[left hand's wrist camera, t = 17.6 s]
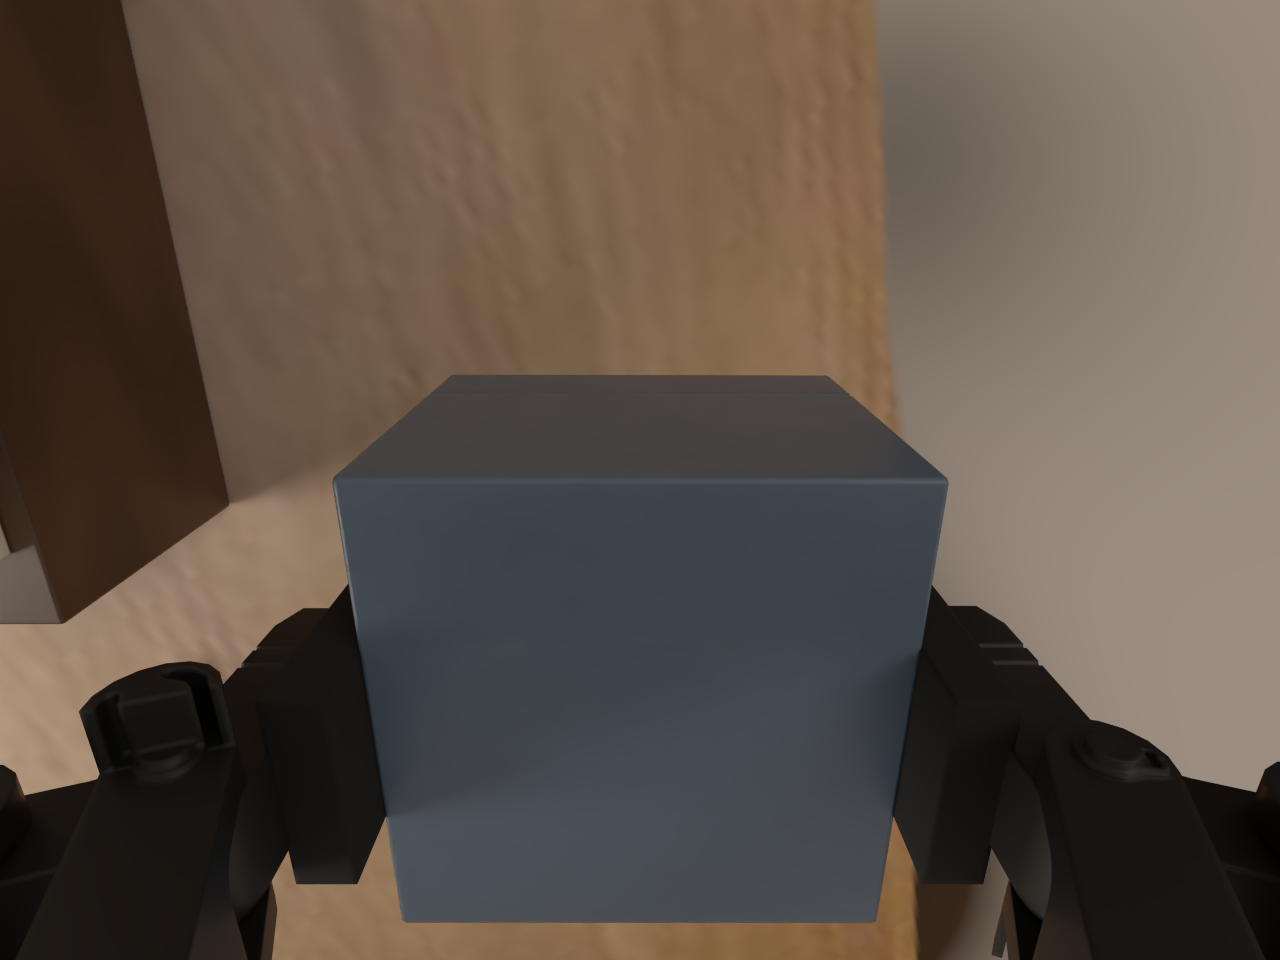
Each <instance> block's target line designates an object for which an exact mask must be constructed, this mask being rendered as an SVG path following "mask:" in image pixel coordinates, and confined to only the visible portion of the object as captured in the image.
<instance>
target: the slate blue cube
mask: <svg viewBox="0 0 1280 960" xmlns="http://www.w3.org/2000/svg"><path fill="white" fill-rule="evenodd" d="M333 489H334V495H335V502H336V508H337V514H338V521H339V527H340V533H341V539H342V546H343V552H344V558H345V564H346V571H347V577H348V583H349V589H350V596H351V602H352V608H353V614H354V621H355V627H356V633H357V639H358V646H359V652H360V658H361V664H362V671H363V677H364V683H365V689H366V696H367V702H368V708H369V714H370V721H371V727H372V733H373V739H374V746H375V752H376V758H377V764H378V771H379V777H380V783H381V789H382V796H383V802H384V808H385V814H386V821H387V827H388V833H389V839H390V846H391V852H392V858H393V864H394V871H395V877H396V883H397V889H398V896H399V902H400V908H401V914H402V920H403V921H404V922H407V923H872V922H875V921H876V919H877V913H878V907H879V901H880V895H881V889H882V883H883V877H884V871H885V865H886V858H887V852H888V846H889V840H890V834H891V828H892V822H893V816H894V810H895V804H896V798H897V792H898V786H899V780H900V774H901V768H902V762H903V756H904V750H905V744H906V738H907V732H908V725H909V719H910V713H911V707H912V701H913V695H914V689H915V683H916V677H917V671H918V665H919V659H920V652H921V647H922V641H923V635H924V629H925V623H926V617H927V611H928V605H929V599H930V592H931V586H932V580H933V574H934V568H935V562H936V556H937V550H938V544H939V538H940V532H941V526H942V520H943V514H944V508H945V502H946V496H947V489H948V480H947V478H946V477H945V476H944V475H943V474H942V473H940V472H939V471H938V470H937V469H936V468H934V467H933V466H932V465H931V464H930V463H929V462H928V461H926V460H925V459H924V458H923V457H922V456H920V455H919V454H918V453H917V452H916V451H915V450H914V449H912V448H911V447H910V446H909V445H908V444H907V443H905V442H904V441H903V440H902V439H901V438H900V437H898V436H897V435H896V434H895V433H894V432H893V431H891V430H890V429H889V428H888V427H887V426H886V425H884V424H883V423H882V422H881V421H880V420H879V419H878V418H876V417H875V416H874V415H873V414H872V413H871V412H869V411H868V410H867V409H866V408H865V407H864V406H862V405H861V404H860V403H859V402H858V401H857V400H855V399H854V398H853V397H852V396H850V395H849V394H848V393H847V392H846V391H845V390H844V389H843V388H841V387H840V386H839V385H838V384H837V383H836V382H834V381H833V380H832V379H831V378H830V377H828V376H728V375H452V376H450V377H449V378H448V379H447V380H446V381H445V382H443V383H442V384H441V385H440V386H439V387H438V388H437V389H435V390H434V391H433V392H432V393H431V394H430V395H429V396H427V397H426V398H425V399H424V400H423V401H422V402H420V403H419V404H418V405H417V406H416V407H415V408H413V409H412V410H411V411H410V412H409V413H408V414H406V415H405V416H404V417H403V418H402V419H401V420H400V421H398V422H397V423H396V424H395V425H394V426H393V427H391V428H390V429H389V430H388V431H387V432H386V433H384V434H383V435H382V436H381V437H380V438H379V439H378V440H376V441H375V442H374V443H373V444H372V445H371V446H369V447H368V448H367V449H366V450H365V451H364V452H362V453H361V454H360V455H359V456H358V457H357V458H356V459H354V460H353V461H352V462H351V463H350V464H349V465H347V466H346V467H345V468H344V469H343V470H342V471H340V472H339V473H338V474H337V475H336V476H335V477H334V479H333Z"/></svg>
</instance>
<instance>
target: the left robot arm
mask: <svg viewBox="0 0 1280 960" xmlns="http://www.w3.org/2000/svg"><path fill="white" fill-rule="evenodd" d="M79 714H80V717H81V720H82V723H83V725H84V728H85V731H86V734H87V737H88V740H89V743H90V746H91V749H92V752H93V755H94V758H95V761H96V764H97V767H98V770H99V773H100V775H99V777H98V779H96V780H93V781H89V782H85V783H80V784H75V785H71V786H66V787H61V788H57V789H52V790H48V791H43V792H38V793H34V794H29V795H24V793H23V791H22V788H21V786H20V783H19V781H18V778H17V775H16V773H15V772H13V771H12V770H10V769H9V768H7V767H6V766H4V765H0V960H272V952H273V944H274V935H275V926H276V917H277V906H276V899H275V893H274V889H273V885H272V879H273V877H274V876H275V874H276V872H277V870H278V868H279V867H280V865H281V863H282V861H283V859H284V857H285V856H286V854H287V852H288V850H289V854H290V859H291V863H292V867H293V872H294V876H295V880H296V884H358V881H359V879H360V876H361V874H362V872H363V869H364V867H365V865H366V862H367V860H368V857H369V855H370V853H371V850H372V848H373V845H374V843H375V841H376V838H377V836H378V834H379V831H380V829H381V826H382V824H383V822H384V819H385V817H386V814H385V808H384V802H383V796H382V789H381V783H380V777H379V771H378V764H377V758H376V752H375V746H374V739H373V733H372V727H371V721H370V714H369V708H368V702H367V696H366V689H365V683H364V677H363V671H362V664H361V658H360V652H359V646H358V639H357V633H356V627H355V621H354V614H353V608H352V602H351V596H350V589H349V584H348V585H347V586H346V587H345V589H344V590H343V591H342V593H341V594H340V595H339V596H338V598H337V599H336V600H335V601H334V603H333V604H332V605H331V607H330V608H303V609H302V610H300V611H298V612H297V613H295V614H294V615H292V616H290V617H289V618H287V619H285V620H284V621H282V622H281V623H279V624H277V625H276V626H274V628H273V629H272V630H271V631H270V632H269V633H268V634H267V636H266V637H265V638H264V639H263V640H262V641H261V642H260V643H259V645H258V646H257V650H256V651H252V653H251V654H250V655H249V656H248V657H247V658H246V659H245V660H244V662H243V663H242V667H241V668H237V670H236V671H235V672H234V673H233V674H232V675H231V676H230V677H229V679H228V680H227V681H226V682H225V683H224V684H223V683H222V679H221V675H220V672H219V671H218V670H216V669H215V668H213V667H212V666H211V665H209V664H204V663H197V662H191V661H189V662H177V663H166V664H162V665H159V666H155V667H151V668H147V669H144V670H140V671H137V672H135V673H133V674H131V675H128V676H126V677H124V678H121V679H119V680H117V681H115V682H113V683H111V684H110V685H108V686H107V687H105V688H104V689H102V690H101V691H99V692H98V693H96V694H95V695H93V696H92V697H91V698H90V699H89V701H88V702H87V703H86V704H85V705H84V706H83V707H82V709H81V710H80V711H79ZM894 818H895V821H896V823H897V825H898V828H899V830H900V832H901V835H902V837H903V840H904V842H905V844H906V847H907V849H908V851H909V854H910V856H911V859H912V861H913V863H914V866H915V868H916V870H917V873H918V875H919V878H920V880H921V882H922V884H983V882H984V878H985V873H986V869H987V865H988V861H989V856H990V852H991V848H992V849H993V851H994V853H995V855H996V857H997V858H998V860H999V862H1000V864H1001V865H1002V867H1003V869H1004V871H1005V873H1006V875H1007V876H1008V878H1009V881H1008V885H1007V890H1006V893H1005V898H1004V902H1003V906H1002V910H1001V914H1000V918H999V922H998V926H997V930H996V934H995V938H994V944H993V950H992V955H994V956H997V957H1001V958H1002V955H1003V951H1004V947H1005V944H1006V942H1007V950H1008V959H1009V960H1280V762H1276V763H1274V764H1273V765H1271V766H1270V767H1268V768H1267V769H1265V771H1264V773H1263V776H1262V779H1261V781H1260V784H1259V786H1258V789H1257V791H1256V792H1252V791H1247V790H1243V789H1238V788H1233V787H1228V786H1224V785H1219V784H1215V783H1210V782H1205V781H1201V780H1196V779H1191V778H1188V777H1184V776H1182V775H1181V773H1180V772H1179V771H1178V769H1177V768H1176V766H1175V765H1174V764H1173V762H1172V761H1171V760H1170V758H1169V757H1168V756H1167V755H1166V754H1164V753H1163V752H1162V751H1160V750H1159V749H1158V748H1156V747H1155V746H1154V745H1153V744H1151V743H1150V742H1149V741H1147V740H1145V739H1143V738H1141V737H1139V736H1137V735H1135V734H1133V733H1131V732H1129V731H1127V730H1125V729H1123V728H1120V727H1117V726H1113V725H1110V724H1107V723H1103V722H1100V721H1095V720H1090V719H1089V718H1088V717H1087V715H1086V714H1085V713H1084V712H1083V711H1082V710H1081V709H1080V707H1079V706H1078V705H1077V704H1076V703H1075V702H1074V701H1073V700H1072V699H1071V697H1070V696H1069V695H1068V694H1067V693H1066V692H1065V691H1064V690H1063V688H1062V687H1061V686H1060V685H1059V684H1058V683H1057V682H1056V680H1055V679H1054V678H1053V677H1052V676H1051V675H1050V674H1049V673H1048V671H1047V670H1046V669H1045V668H1044V667H1043V666H1039V664H1038V660H1037V659H1036V658H1035V657H1034V656H1033V655H1032V653H1031V652H1030V651H1029V650H1028V649H1027V648H1023V643H1022V642H1021V641H1020V640H1019V639H1018V638H1017V637H1016V636H1015V634H1014V633H1013V632H1012V631H1011V630H1010V629H1009V628H1008V626H1007V625H1006V624H1005V623H1003V622H1001V621H1000V620H998V619H997V618H995V617H993V616H992V615H990V614H989V613H987V612H985V611H984V610H982V609H980V608H979V607H977V606H948V605H947V603H946V602H945V601H944V600H943V598H942V597H941V596H940V594H939V593H938V592H937V591H936V589H935V588H934V587H933V586H931V592H930V599H929V605H928V611H927V617H926V623H925V629H924V635H923V641H922V647H921V652H920V659H919V665H918V671H917V677H916V683H915V689H914V695H913V701H912V707H911V713H910V719H909V725H908V732H907V738H906V744H905V750H904V756H903V762H902V768H901V774H900V780H899V786H898V792H897V798H896V804H895V810H894Z"/></svg>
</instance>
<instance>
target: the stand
mask: <svg viewBox="0 0 1280 960" xmlns="http://www.w3.org/2000/svg"><path fill="white" fill-rule="evenodd" d="M228 506H229V500H228V495H227V491H226V486H225V482H224V477H223V472H222V468H221V463H220V458H219V454H218V449H217V445H216V440H215V435H214V431H213V426H212V421H211V417H210V412H209V408H208V403H207V398H206V394H205V389H204V384H203V380H202V375H201V371H200V366H199V361H198V357H197V352H196V347H195V343H194V338H193V334H192V329H191V324H190V320H189V315H188V310H187V306H186V301H185V296H184V292H183V287H182V283H181V278H180V273H179V269H178V264H177V259H176V255H175V250H174V246H173V241H172V236H171V232H170V227H169V222H168V218H167V213H166V209H165V204H164V199H163V195H162V190H161V185H160V181H159V176H158V172H157V167H156V162H155V158H154V153H153V148H152V144H151V139H150V135H149V130H148V125H147V121H146V116H145V111H144V107H143V102H142V98H141V93H140V88H139V84H138V79H137V74H136V70H135V65H134V61H133V56H132V51H131V47H130V42H129V37H128V33H127V28H126V24H125V19H124V14H123V10H122V5H121V0H0V624H63V623H65V622H67V621H68V620H69V619H71V618H72V617H74V616H75V615H76V614H78V613H79V612H81V611H82V610H84V609H85V608H86V607H88V606H89V605H91V604H92V603H93V602H95V601H96V600H98V599H99V598H100V597H102V596H103V595H105V594H106V593H107V592H109V591H110V590H112V589H113V588H114V587H116V586H117V585H119V584H120V583H121V582H123V581H124V580H126V579H127V578H128V577H130V576H131V575H133V574H134V573H135V572H137V571H138V570H140V569H141V568H142V567H144V566H145V565H147V564H148V563H149V562H151V561H152V560H154V559H155V558H156V557H158V556H159V555H161V554H162V553H163V552H165V551H166V550H168V549H169V548H170V547H172V546H173V545H175V544H176V543H177V542H179V541H180V540H182V539H183V538H184V537H186V536H187V535H189V534H190V533H191V532H193V531H194V530H196V529H197V528H198V527H200V526H201V525H203V524H204V523H205V522H207V521H208V520H210V519H211V518H212V517H214V516H215V515H217V514H218V513H219V512H221V511H222V510H224V509H225V508H226V507H228Z"/></svg>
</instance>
